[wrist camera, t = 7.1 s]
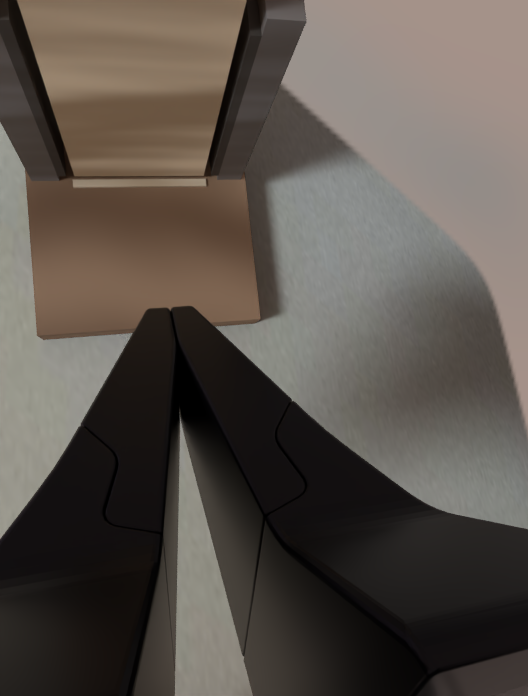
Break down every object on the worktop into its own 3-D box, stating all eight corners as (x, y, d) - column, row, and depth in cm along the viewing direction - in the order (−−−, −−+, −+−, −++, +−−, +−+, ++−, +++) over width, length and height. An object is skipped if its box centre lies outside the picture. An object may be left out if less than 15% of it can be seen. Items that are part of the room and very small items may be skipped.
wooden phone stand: (254, 323, 22) (343, 257, 12) (43, 339, 20) (-62, 277, 10) (235, 148, 22) (304, -53, 12) (29, 146, 20) (-83, -95, 10)
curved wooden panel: (203, 175, 20) (265, -74, 10) (74, 176, 19) (-18, -107, 8) (195, 94, 21) (246, -235, 10) (67, 90, 19) (-31, -289, 9)
